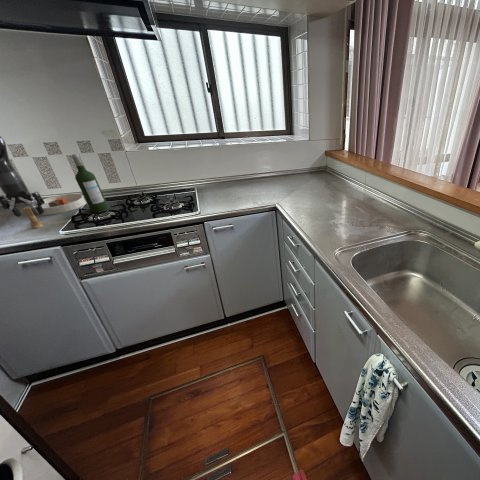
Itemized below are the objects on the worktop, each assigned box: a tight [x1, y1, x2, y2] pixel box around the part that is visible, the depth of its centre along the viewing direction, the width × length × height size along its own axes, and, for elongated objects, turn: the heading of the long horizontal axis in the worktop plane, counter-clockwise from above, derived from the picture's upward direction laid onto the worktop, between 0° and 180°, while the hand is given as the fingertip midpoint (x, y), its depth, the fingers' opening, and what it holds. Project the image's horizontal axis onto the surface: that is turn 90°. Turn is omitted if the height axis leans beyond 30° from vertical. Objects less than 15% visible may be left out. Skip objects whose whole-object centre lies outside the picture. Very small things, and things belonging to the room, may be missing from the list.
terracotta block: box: [55, 198, 68, 205], centre depth 150 cm, size 4×4×4 cm
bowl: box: [32, 193, 87, 216], centre depth 148 cm, size 21×21×4 cm
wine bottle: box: [71, 153, 110, 214], centre depth 138 cm, size 8×8×30 cm
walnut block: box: [48, 201, 61, 207], centre depth 146 cm, size 4×4×4 cm
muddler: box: [22, 206, 44, 230], centre depth 126 cm, size 4×4×10 cm
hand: (30, 214), depth 126 cm, fingers open, 8 cm apart
